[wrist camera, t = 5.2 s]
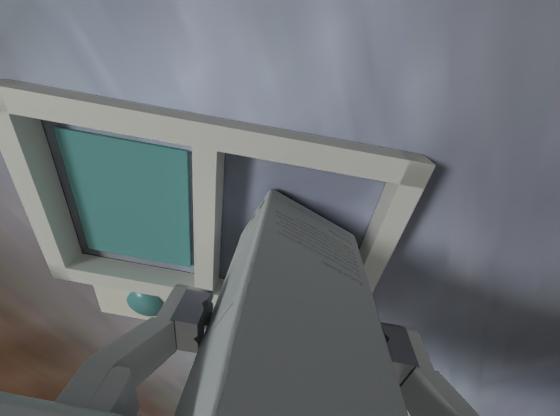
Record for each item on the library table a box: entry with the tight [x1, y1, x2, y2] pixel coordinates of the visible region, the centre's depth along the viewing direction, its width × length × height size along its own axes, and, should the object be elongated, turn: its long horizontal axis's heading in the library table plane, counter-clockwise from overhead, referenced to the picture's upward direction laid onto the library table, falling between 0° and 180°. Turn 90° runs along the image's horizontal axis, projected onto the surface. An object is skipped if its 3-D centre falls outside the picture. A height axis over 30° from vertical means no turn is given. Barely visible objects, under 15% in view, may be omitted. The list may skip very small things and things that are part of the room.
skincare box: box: [174, 189, 408, 416], centre depth 11 cm, size 6×4×12 cm
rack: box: [0, 79, 436, 320], centre depth 17 cm, size 21×17×2 cm
